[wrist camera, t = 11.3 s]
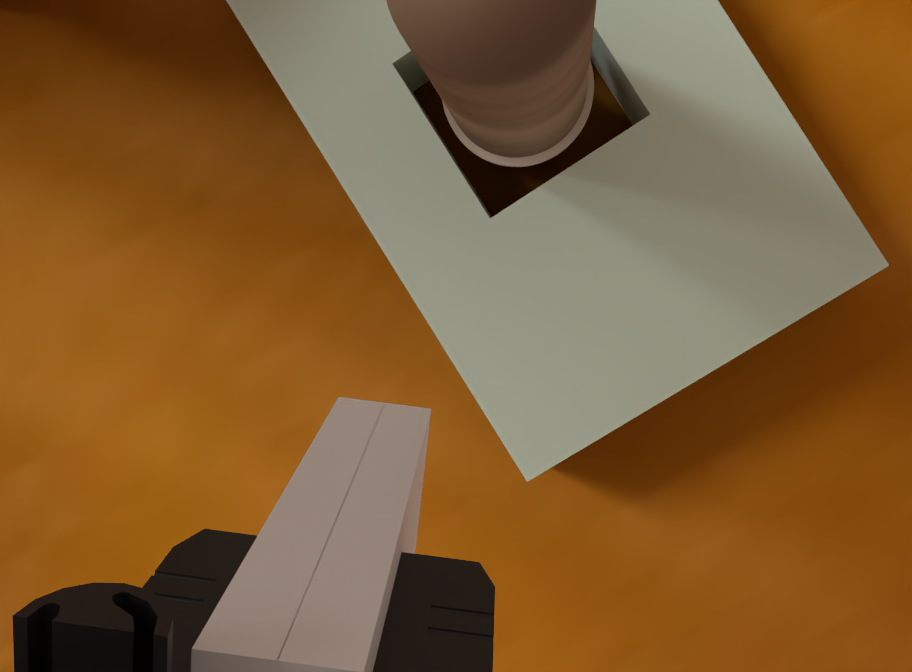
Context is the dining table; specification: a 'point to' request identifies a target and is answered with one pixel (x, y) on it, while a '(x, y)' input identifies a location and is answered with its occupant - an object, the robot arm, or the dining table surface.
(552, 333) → the board
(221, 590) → the robot arm
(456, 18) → the peg
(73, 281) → the dining table surface
